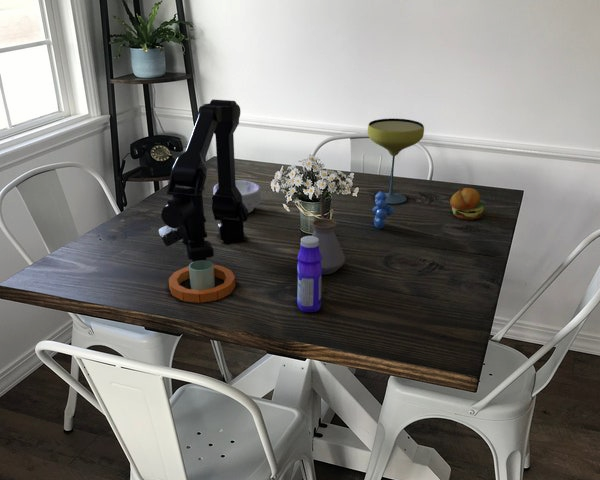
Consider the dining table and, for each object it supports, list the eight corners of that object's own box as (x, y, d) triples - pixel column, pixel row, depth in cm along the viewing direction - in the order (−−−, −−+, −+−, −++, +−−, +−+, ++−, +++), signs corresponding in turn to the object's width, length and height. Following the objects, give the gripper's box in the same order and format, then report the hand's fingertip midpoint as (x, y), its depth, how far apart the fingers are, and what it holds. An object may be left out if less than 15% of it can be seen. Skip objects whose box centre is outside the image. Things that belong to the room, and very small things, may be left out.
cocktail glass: (365, 188, 221) (369, 117, 209) (416, 191, 219) (423, 119, 207) (362, 206, 206) (366, 130, 194) (418, 209, 204) (425, 132, 191)
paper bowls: (270, 207, 205) (269, 184, 201) (242, 222, 194) (241, 198, 190) (233, 199, 212) (232, 176, 208) (204, 212, 201) (202, 189, 197)
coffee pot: (346, 277, 161) (348, 223, 154) (301, 277, 161) (301, 223, 154) (341, 244, 180) (342, 194, 172) (301, 244, 179) (301, 194, 172)
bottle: (295, 299, 151) (295, 233, 142) (319, 298, 151) (320, 232, 143) (298, 314, 144) (298, 246, 136) (322, 313, 145) (324, 245, 136)
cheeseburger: (491, 216, 198) (491, 188, 192) (468, 230, 194) (467, 203, 188) (467, 206, 205) (466, 179, 199) (444, 220, 202) (442, 193, 195)
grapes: (394, 236, 184) (397, 197, 178) (371, 235, 185) (374, 197, 179) (392, 221, 194) (395, 184, 189) (370, 221, 195) (372, 184, 189)
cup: (212, 279, 160) (210, 258, 157) (217, 290, 155) (215, 268, 152) (188, 283, 158) (186, 262, 155) (193, 294, 153) (191, 272, 150)
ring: (226, 268, 165) (226, 260, 164) (241, 296, 152) (240, 287, 151) (166, 277, 161) (165, 269, 160) (175, 306, 148) (174, 298, 147)
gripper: (154, 202, 159) (161, 257, 167) (164, 231, 144) (171, 289, 152) (197, 198, 163) (202, 251, 170) (212, 225, 147) (216, 283, 155)
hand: (197, 268), depth 162 cm, fingers open, 4 cm apart
